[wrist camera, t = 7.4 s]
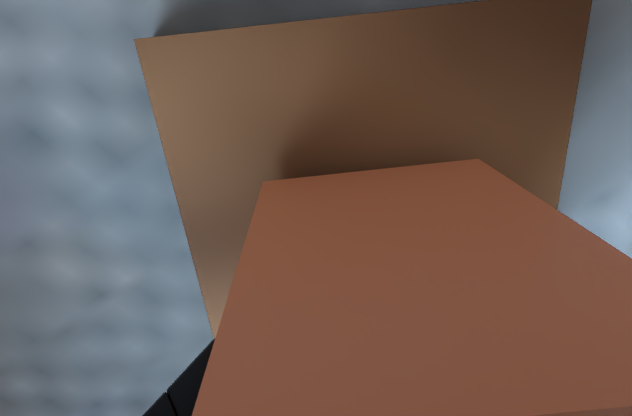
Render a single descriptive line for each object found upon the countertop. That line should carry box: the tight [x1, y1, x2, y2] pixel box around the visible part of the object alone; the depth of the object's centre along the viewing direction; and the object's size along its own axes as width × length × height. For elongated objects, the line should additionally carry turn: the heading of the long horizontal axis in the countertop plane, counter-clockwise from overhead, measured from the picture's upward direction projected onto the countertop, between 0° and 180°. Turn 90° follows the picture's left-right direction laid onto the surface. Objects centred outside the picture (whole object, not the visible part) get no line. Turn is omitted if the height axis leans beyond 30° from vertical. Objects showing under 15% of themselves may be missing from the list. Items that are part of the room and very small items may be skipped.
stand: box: [134, 0, 592, 338], centre depth 8 cm, size 12×10×7 cm
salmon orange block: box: [192, 159, 632, 416], centre depth 7 cm, size 5×5×7 cm
